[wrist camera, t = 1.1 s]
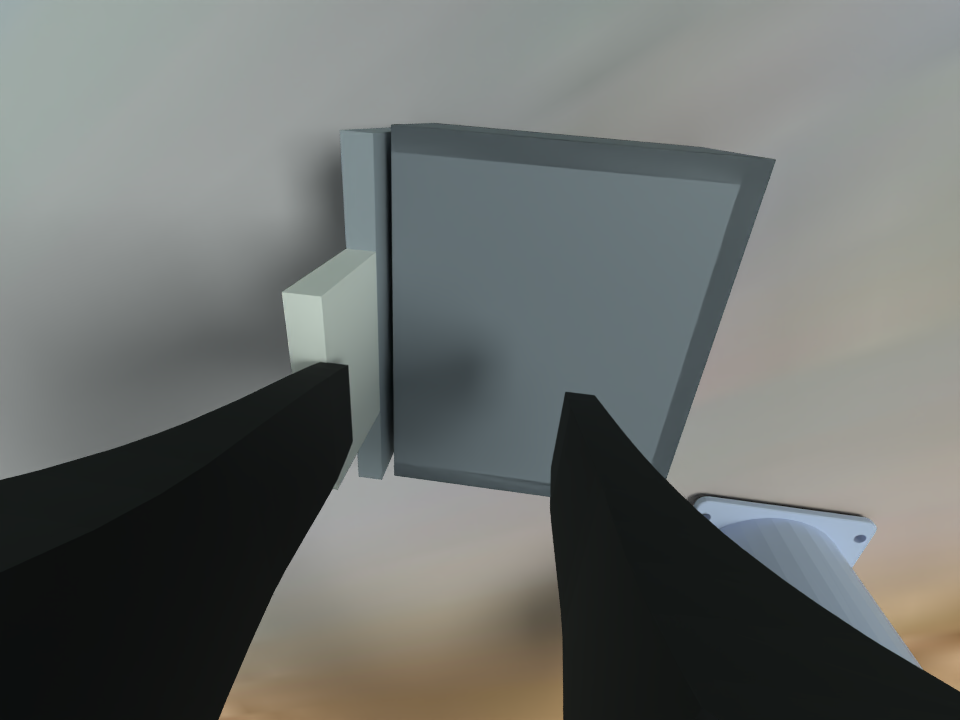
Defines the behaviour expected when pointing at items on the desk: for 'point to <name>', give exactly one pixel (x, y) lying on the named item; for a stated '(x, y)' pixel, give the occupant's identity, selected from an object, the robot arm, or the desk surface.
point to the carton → (553, 291)
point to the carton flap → (355, 302)
